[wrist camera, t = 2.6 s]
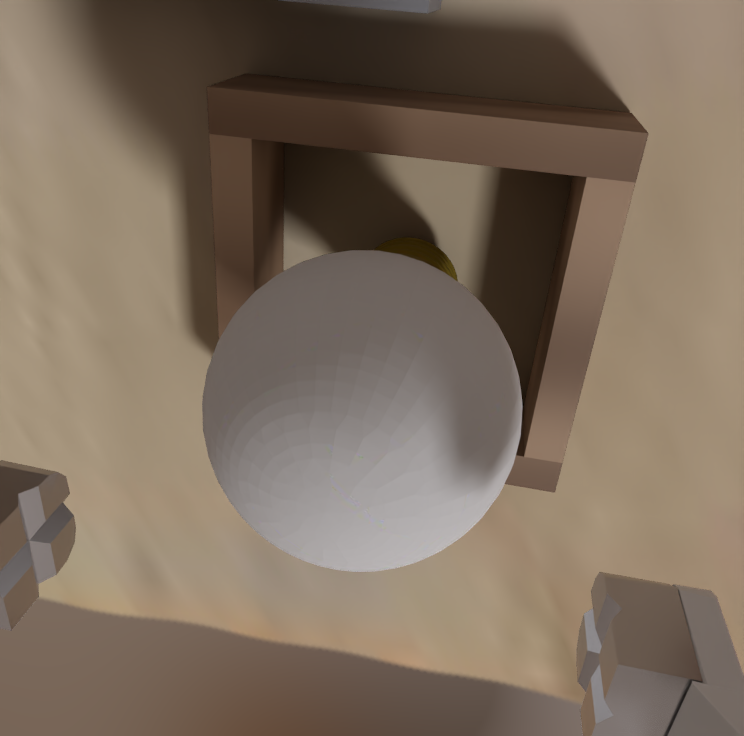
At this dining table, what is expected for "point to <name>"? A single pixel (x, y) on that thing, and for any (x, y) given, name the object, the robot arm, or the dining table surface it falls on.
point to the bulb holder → (447, 143)
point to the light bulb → (363, 408)
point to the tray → (383, 4)
